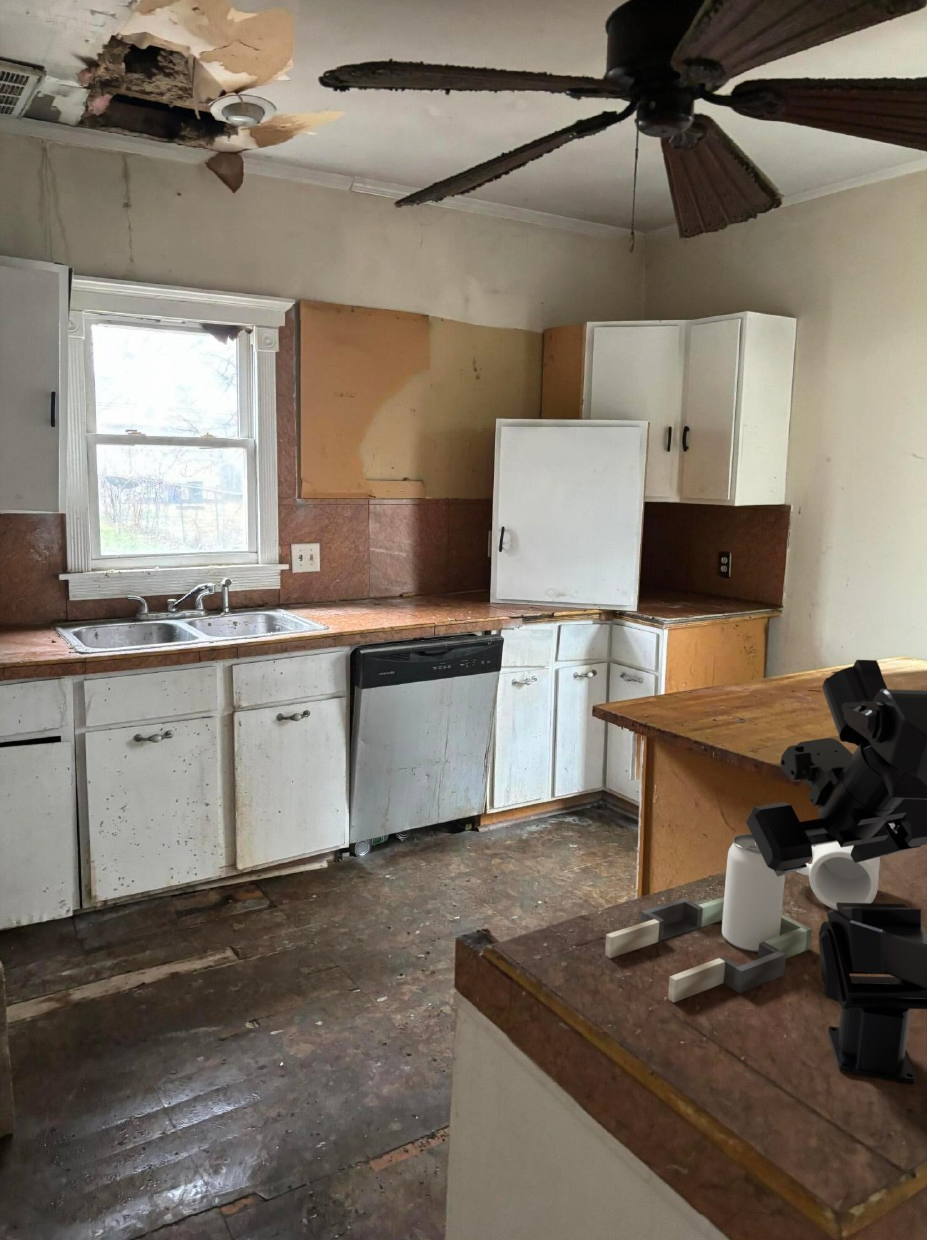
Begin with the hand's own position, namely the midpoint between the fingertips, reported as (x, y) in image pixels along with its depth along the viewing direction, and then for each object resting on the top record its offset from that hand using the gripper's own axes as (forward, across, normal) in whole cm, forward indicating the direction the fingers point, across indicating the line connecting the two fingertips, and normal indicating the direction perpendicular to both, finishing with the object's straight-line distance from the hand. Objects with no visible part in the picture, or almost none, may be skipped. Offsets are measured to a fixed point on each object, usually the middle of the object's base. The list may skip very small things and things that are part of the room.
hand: (815, 865), depth 95 cm
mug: (+22, -13, -6) cm, 27 cm away
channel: (+13, +10, +2) cm, 16 cm away
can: (+15, +4, +1) cm, 15 cm away
